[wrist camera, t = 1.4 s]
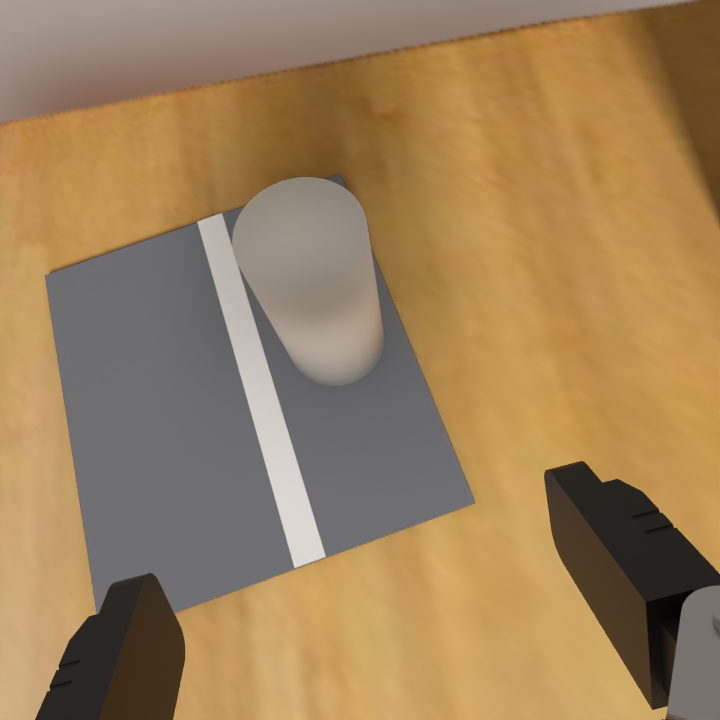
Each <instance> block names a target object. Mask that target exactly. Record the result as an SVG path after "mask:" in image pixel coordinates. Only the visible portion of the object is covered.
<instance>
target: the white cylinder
mask: <svg viewBox="0 0 720 720" xmlns="http://www.w3.org/2000/svg"><path fill="white" fill-rule="evenodd" d="M232 248H233V253H234V257H235V260H236V262H237V264H238V266H239V268H240V270H241V271H242V273H243V275H244V277H245V278H246V280H247V282H248V284H249V285H250V287H251V289H252V291H253V292H254V294H255V296H256V298H257V299H258V301H259V303H260V305H261V307H262V308H263V310H264V312H265V314H266V315H267V317H268V319H269V321H270V322H271V324H272V326H273V328H274V329H275V331H276V333H277V335H278V336H279V338H280V340H281V342H282V343H283V345H284V347H285V349H286V350H287V352H288V354H289V356H290V358H291V359H292V361H293V363H294V365H295V366H296V368H297V369H298V370H299V371H300V372H301V373H302V374H303V375H304V376H305V377H306V378H308V379H309V380H311V381H313V382H315V383H318V384H321V385H326V386H342V385H347V384H350V383H353V382H355V381H358V380H359V379H361V378H363V377H364V376H366V375H367V374H368V373H369V372H370V371H371V370H372V369H373V368H374V367H375V366H376V364H377V363H378V361H379V359H380V357H381V355H382V352H383V348H384V330H383V324H382V317H381V311H380V304H379V298H378V291H377V284H376V278H375V271H374V265H373V258H372V252H371V245H370V239H369V232H368V225H367V219H366V216H365V213H364V210H363V208H362V206H361V204H360V203H359V201H358V200H357V199H356V198H355V197H354V195H353V194H352V193H351V192H349V191H348V190H347V189H345V188H344V187H342V186H341V185H339V184H337V183H334V182H332V181H329V180H326V179H322V178H316V177H297V178H292V179H287V180H284V181H280V182H278V183H275V184H273V185H271V186H269V187H267V188H265V189H264V190H262V191H261V192H259V193H258V194H257V195H256V196H254V197H253V198H252V199H251V200H250V201H249V202H248V203H247V204H246V206H245V207H244V208H243V210H242V211H241V213H240V215H239V217H238V218H237V221H236V224H235V226H234V230H233V236H232Z"/></svg>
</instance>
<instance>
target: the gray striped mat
mask: <svg viewBox="0 0 720 720" xmlns="http://www.w3.org/2000/svg"><path fill="white" fill-rule="evenodd" d="M325 179H326V180H329V181H332V182H334V183H337V184H339V185H341V186H342V187H344V188H345V189H347V188H346V186H345V183H344V181H343V179H342V176H341V174H340V173H339V174H337V175H334V176H331V177H328V178H325ZM244 207H245V206H244ZM244 207H241V208H238V209H235V210H232V211H229V212H227V213H224V214H222V213H220V214H217V215H214V216H211V217H209V218H206V219H203V220H200V221H197V223H195V224H192V225H189V226H186V227H183V228H180V229H177V230H174V231H172V232H169V233H166V234H163V235H160V236H157V237H154V238H151V239H148V240H145V241H143V242H140V243H137V244H134V245H131V246H128V247H125V248H122V249H119V250H117V251H114V252H111V253H108V254H105V255H102V256H99V257H96V258H93V259H90V260H88V261H85V262H82V263H79V264H76V265H73V266H70V267H67V268H64V269H62V270H59V271H56V272H53V273H50V274H47V275H45V280H46V287H47V293H48V300H49V306H50V313H51V319H52V326H53V332H54V339H55V345H56V352H57V358H58V365H59V371H60V378H61V384H62V391H63V397H64V404H65V410H66V417H67V423H68V430H69V436H70V443H71V449H72V456H73V462H74V469H75V475H76V482H77V488H78V495H79V501H80V508H81V514H82V521H83V527H84V534H85V540H86V547H87V553H88V560H89V566H90V573H91V579H92V586H93V592H94V599H95V605H96V612H97V614H99V612H100V609H101V607H102V604H103V602H104V599H105V596H106V594H107V591H108V589H109V587H110V586H111V584H112V583H114V582H118V581H121V580H125V579H129V578H133V577H137V576H141V575H144V574H148V573H152V574H154V575H155V576H156V577H157V579H158V581H159V583H160V585H161V587H162V589H163V591H164V593H165V595H166V597H167V599H168V601H169V604H170V606H171V608H172V610H173V612H174V613H177V612H180V611H182V610H185V609H188V608H190V607H193V606H196V605H199V604H201V603H204V602H207V601H210V600H212V599H215V598H218V597H221V596H223V595H226V594H229V593H231V592H234V591H237V590H240V589H242V588H245V587H248V586H251V585H253V584H256V583H259V582H262V581H264V580H267V579H270V578H272V577H275V576H278V575H281V574H283V573H286V572H289V571H292V570H294V569H297V568H300V567H303V566H305V565H308V564H311V563H313V562H316V561H319V560H322V559H324V558H327V557H330V556H333V555H335V554H338V553H341V552H344V551H346V550H349V549H352V548H355V547H357V546H360V545H363V544H365V543H368V542H371V541H374V540H376V539H379V538H382V537H385V536H387V535H390V534H393V533H396V532H398V531H401V530H404V529H406V528H409V527H412V526H415V525H417V524H420V523H423V522H426V521H428V520H431V519H434V518H437V517H439V516H442V515H445V514H447V513H450V512H453V511H456V510H458V509H461V508H464V507H467V506H469V505H472V504H474V503H475V500H474V498H473V496H472V493H471V491H470V488H469V486H468V483H467V481H466V478H465V476H464V474H463V471H462V469H461V466H460V464H459V461H458V459H457V457H456V454H455V452H454V449H453V447H452V444H451V442H450V439H449V437H448V435H447V432H446V430H445V427H444V425H443V422H442V420H441V417H440V415H439V413H438V410H437V408H436V405H435V403H434V400H433V398H432V396H431V393H430V391H429V388H428V386H427V383H426V381H425V378H424V376H423V374H422V371H421V369H420V366H419V364H418V361H417V359H416V357H415V354H414V352H413V349H412V347H411V344H410V342H409V339H408V337H407V335H406V332H405V330H404V327H403V325H402V322H401V320H400V318H399V315H398V313H397V310H396V308H395V305H394V303H393V300H392V298H391V296H390V293H389V291H388V288H387V286H386V283H385V281H384V279H383V276H382V274H381V271H380V269H379V266H378V264H377V261H376V259H375V257H374V254H373V252H372V249H371V252H372V258H373V265H374V271H375V278H376V284H377V291H378V298H379V304H380V311H381V317H382V324H383V330H384V348H383V352H382V355H381V357H380V359H379V361H378V363H377V364H376V366H375V367H374V368H373V369H372V370H371V371H370V372H369V373H368V374H367V375H366V376H364V377H363V378H361V379H359V380H358V381H355V382H353V383H350V384H347V385H342V386H326V385H321V384H318V383H315V382H313V381H311V380H309V379H308V378H306V377H305V376H304V375H303V374H302V373H301V372H300V371H299V370H298V369H297V368H296V366H295V365H294V363H293V361H292V359H291V358H290V356H289V354H288V352H287V350H286V349H285V347H284V345H283V343H282V342H281V340H280V338H279V336H278V335H277V333H276V331H275V329H274V328H273V326H272V324H271V322H270V321H269V319H268V317H267V315H266V314H265V312H264V310H263V308H262V307H261V305H260V303H259V301H258V299H257V298H256V296H255V294H254V292H253V291H252V289H251V287H250V285H249V284H248V282H247V280H246V278H245V277H244V275H243V273H242V271H241V270H240V268H239V266H238V264H237V262H236V260H235V257H234V253H233V248H232V236H233V230H234V226H235V224H236V221H237V218H238V217H239V215H240V213H241V211H242V210H243V208H244Z"/></svg>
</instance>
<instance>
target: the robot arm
mask: <svg viewBox="0 0 720 720" xmlns="http://www.w3.org/2000/svg"><path fill="white" fill-rule="evenodd" d="M544 479H545V487H546V494H547V502H548V509H549V516H550V523H551V530H552V535H553V539H554V543H555V546H556V549H557V551H558V554H559V556H560V558H561V560H562V562H563V564H564V566H565V567H566V569H567V570H568V572H569V574H570V575H571V577H572V579H573V580H574V582H575V584H576V585H577V587H578V589H579V590H580V592H581V593H582V595H583V597H584V598H585V600H586V602H587V603H588V605H589V607H590V608H591V610H592V611H593V613H594V615H595V616H596V618H597V620H598V621H599V623H600V625H601V626H602V628H603V630H604V631H605V633H606V634H607V636H608V638H609V639H610V641H611V643H612V644H613V646H614V648H615V649H616V651H617V652H618V654H619V656H620V657H621V659H622V661H623V662H624V664H625V666H626V667H627V669H628V671H629V672H630V674H631V675H632V677H633V679H634V680H635V682H636V684H637V685H638V687H639V689H640V690H641V692H642V693H643V695H644V697H645V698H646V700H647V702H648V703H649V705H650V707H651V708H652V710H654V709H658V708H662V707H666V706H668V709H667V715H666V719H665V720H720V574H719V573H718V572H717V571H716V570H715V568H714V567H713V566H712V565H711V564H710V563H709V562H708V561H707V560H706V559H705V558H704V557H703V556H702V555H701V554H700V553H699V551H698V550H697V549H696V548H695V547H694V546H693V545H692V544H691V543H690V542H689V541H688V540H687V539H686V538H685V537H684V536H683V534H682V533H681V532H680V531H679V530H678V529H677V528H674V527H673V524H672V523H671V522H670V521H669V520H668V519H667V517H666V516H665V515H664V514H663V513H660V512H659V509H658V508H657V507H656V506H655V505H654V504H653V503H652V502H651V500H650V499H649V498H648V497H647V496H646V495H645V494H644V493H643V492H642V491H640V490H638V489H636V488H634V487H632V486H630V485H628V484H626V483H624V482H622V481H621V480H619V479H615V480H611V481H607V482H604V483H602V482H601V481H600V479H599V478H598V477H597V476H596V475H595V474H594V472H593V471H592V470H591V469H590V468H589V466H588V465H587V464H586V463H585V462H583V461H580V462H576V463H572V464H568V465H564V466H560V467H557V468H553V469H549V470H546V471H545V474H544ZM184 662H185V642H184V636H183V632H182V629H181V627H180V625H179V622H178V620H177V618H176V616H175V614H174V612H173V610H172V608H171V606H170V604H169V601H168V599H167V597H166V595H165V593H164V591H163V589H162V587H161V585H160V583H159V581H158V579H157V577H156V576H155V575H154V574H152V573H148V574H144V575H141V576H137V577H133V578H129V579H125V580H121V581H118V582H114V583H112V584H111V586H110V587H109V589H108V591H107V594H106V596H105V599H104V602H103V604H102V607H101V609H100V612H99V614H96V615H92V616H89V617H88V618H87V620H86V621H85V622H84V623H83V624H82V626H81V627H80V628H79V629H78V631H77V632H76V633H75V634H74V636H73V637H72V638H71V639H70V640H69V643H68V645H67V647H66V650H65V652H64V654H63V657H62V659H61V661H60V663H59V670H57V671H56V673H55V675H54V677H53V680H52V682H51V684H50V691H48V692H47V694H46V696H45V698H44V701H43V703H42V705H41V707H40V710H39V712H38V714H37V717H36V719H35V720H173V717H174V712H175V707H176V702H177V697H178V692H179V687H180V682H181V677H182V672H183V667H184ZM662 720H663V719H662Z"/></svg>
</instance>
